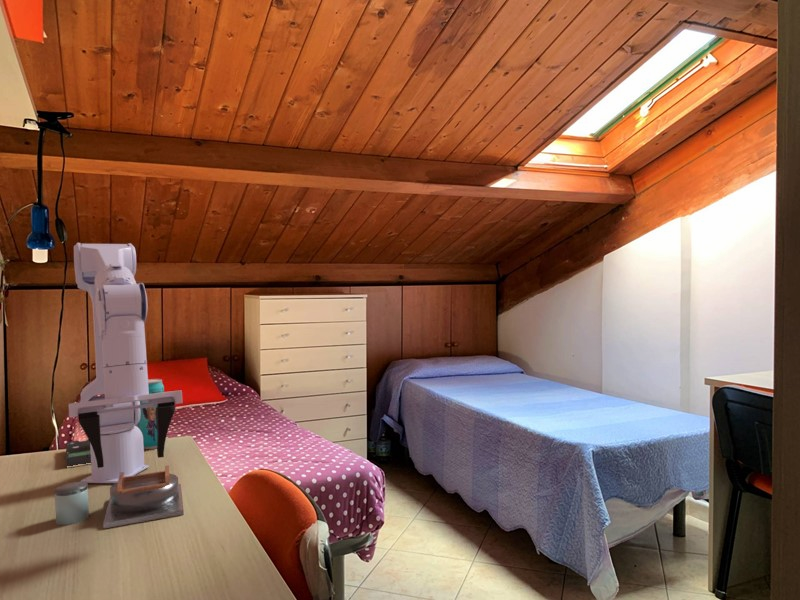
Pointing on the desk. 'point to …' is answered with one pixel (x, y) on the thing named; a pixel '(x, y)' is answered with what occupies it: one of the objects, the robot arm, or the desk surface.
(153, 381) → the beverage can
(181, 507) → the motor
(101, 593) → the desk surface
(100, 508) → the desk surface
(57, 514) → the cylinder
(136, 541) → the desk surface
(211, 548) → the desk surface
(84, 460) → the disk drive
